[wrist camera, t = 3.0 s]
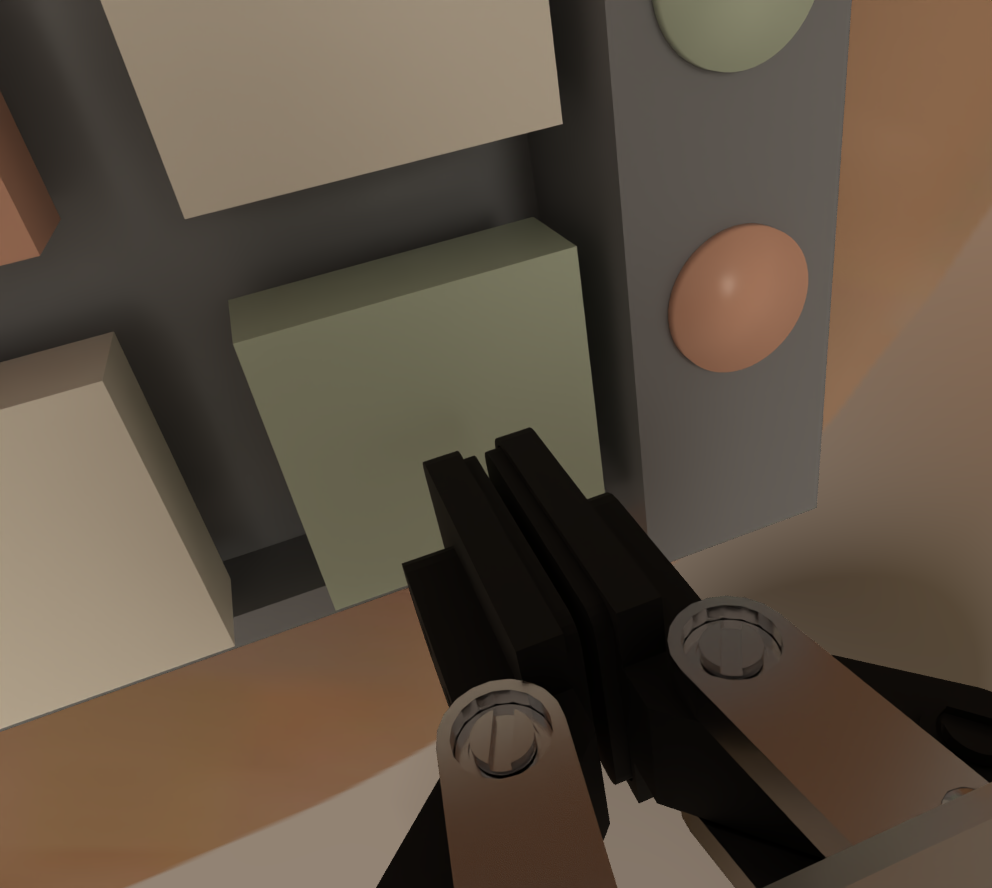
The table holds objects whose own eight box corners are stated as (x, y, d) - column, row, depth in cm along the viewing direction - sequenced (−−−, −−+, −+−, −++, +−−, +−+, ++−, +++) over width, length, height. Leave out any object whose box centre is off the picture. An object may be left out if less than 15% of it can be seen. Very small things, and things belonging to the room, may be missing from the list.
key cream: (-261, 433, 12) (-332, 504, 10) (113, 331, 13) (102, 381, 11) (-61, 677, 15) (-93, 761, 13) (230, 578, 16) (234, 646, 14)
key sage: (227, 300, 13) (232, 344, 12) (533, 216, 14) (576, 245, 13) (321, 548, 16) (336, 610, 15) (568, 464, 18) (607, 514, 16)
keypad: (-667, -238, 11) (-1725, -512, 5) (613, -397, 14) (914, -673, 8) (-43, 603, 19) (-147, 876, 13) (660, 376, 23) (824, 514, 17)
